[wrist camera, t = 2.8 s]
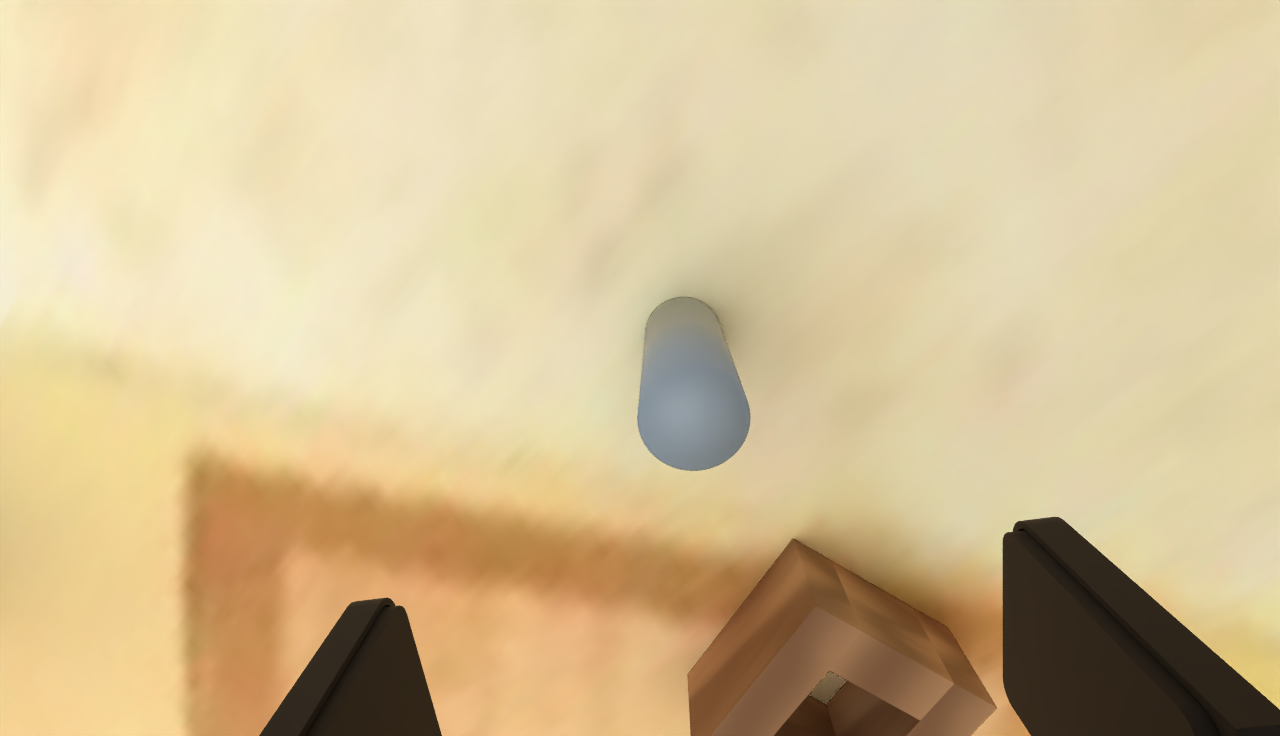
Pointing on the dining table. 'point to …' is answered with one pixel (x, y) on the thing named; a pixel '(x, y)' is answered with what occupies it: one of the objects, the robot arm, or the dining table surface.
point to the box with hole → (832, 662)
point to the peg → (690, 388)
